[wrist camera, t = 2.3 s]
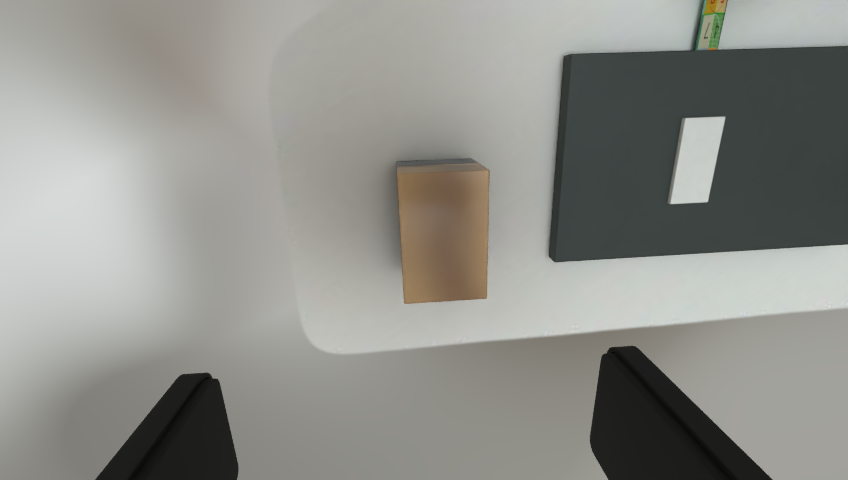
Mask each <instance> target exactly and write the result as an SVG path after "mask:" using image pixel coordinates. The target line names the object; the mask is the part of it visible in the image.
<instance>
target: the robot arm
mask: <svg viewBox="0 0 848 480" xmlns="http://www.w3.org/2000/svg"><path fill="white" fill-rule="evenodd" d="M590 444H591V448H592V451H593V453H594V455H595V457H596V459H597V460H598V462H599V464H600V466H601V467H602V469H603V471H604V473H605V474H606V476H607V478H608V480H772V479H771V478H770V477H769V476H768V475H767V474H766V473H765V472H764V471H763V470H762V469H761V468H760V467H759V466H758V465H757V464H756V463H755V462H754V461H753V460H752V459H751V458H750V457H749V456H747V454H746V453H745V452H744V451H743V450H742V449H740V447H738V446H737V445H736V444H735V443H734V442H733V441H732V440H731V439H730V438H729V437H728V436H727V435H726V434H725V433H724V432H723V431H722V430H721V429H720V428H719V427H718V426H717V425H716V424H715V423H714V422H713V421H712V420H711V419H710V418H709V417H708V416H707V415H706V414H705V413H704V412H703V411H702V410H701V409H700V408H699V407H697V405H696V404H694V403H693V402H692V401H691V400H690V399H689V398H688V397H687V396H686V395H685V394H684V393H683V392H682V391H681V390H680V389H679V388H678V387H677V386H676V385H675V384H674V383H673V382H672V381H671V380H670V379H669V378H668V377H667V376H666V375H665V374H664V373H663V372H662V371H661V370H660V369H659V368H658V367H656V365H655V364H653V363H652V362H651V361H650V360H649V359H648V358H647V357H646V356H645V355H644V354H643V353H642V352H641V351H640V350H639V349H638V348H636V347H635V346H624V347H611V348H609V350H608V351H607V354H603V355H602V358H601V364H600V370H599V378H598V384H597V392H596V398H595V405H594V413H593V419H592V427H591V434H590ZM237 477H238V462H237V457H236V453H235V449H234V444H233V440H232V435H231V431H230V427H229V422H228V418H227V413H226V409H225V404H224V400H223V396H222V391H221V387H220V383H219V381H218V379H212V376H211V375H210V374H209V373H195V374H183V375H180V376H179V377H178V378H177V379H176V380H175V382H174V383H173V384H172V385H171V387H170V388H169V389H168V390H167V392H166V393H165V394H164V395H163V397H162V398H161V399H160V400H159V401H158V403H157V404H156V405H155V406H154V408H153V409H152V410H151V411H150V413H149V414H148V415H147V416H146V418H145V419H144V420H143V421H142V422H141V424H140V425H139V426H138V427H137V429H136V430H135V431H134V433H133V434H132V435H131V436H130V437H129V439H128V440H127V441H126V442H125V444H124V445H123V446H122V447H121V448H120V450H119V451H118V452H117V454H116V455H115V456H114V457H113V458H112V460H111V461H110V462H109V463H108V465H107V466H106V467H105V468H104V470H103V471H102V472H101V473H100V475H99V476H98V477H97V478H96V480H237Z"/></svg>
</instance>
